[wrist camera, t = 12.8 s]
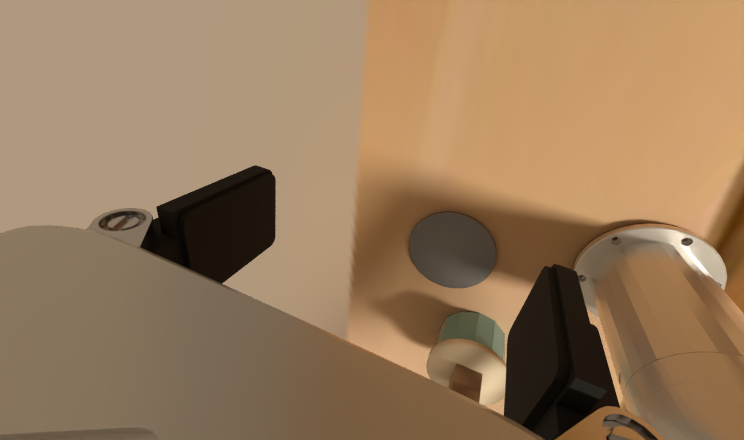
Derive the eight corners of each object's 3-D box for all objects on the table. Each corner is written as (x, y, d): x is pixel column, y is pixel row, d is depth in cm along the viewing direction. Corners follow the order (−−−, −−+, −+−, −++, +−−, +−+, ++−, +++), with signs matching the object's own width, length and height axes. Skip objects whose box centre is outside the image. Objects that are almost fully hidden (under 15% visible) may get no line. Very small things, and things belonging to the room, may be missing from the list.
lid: (521, 359, 38) (522, 407, 33) (494, 408, 43) (490, 456, 38) (438, 326, 41) (426, 366, 36) (421, 376, 46) (409, 417, 41)
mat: (514, 266, 40) (514, 268, 40) (441, 296, 46) (440, 298, 46) (462, 195, 39) (461, 197, 38) (394, 236, 45) (393, 238, 44)
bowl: (517, 350, 45) (517, 387, 40) (464, 364, 50) (458, 398, 45) (481, 303, 44) (476, 335, 39) (430, 322, 49) (420, 352, 44)
